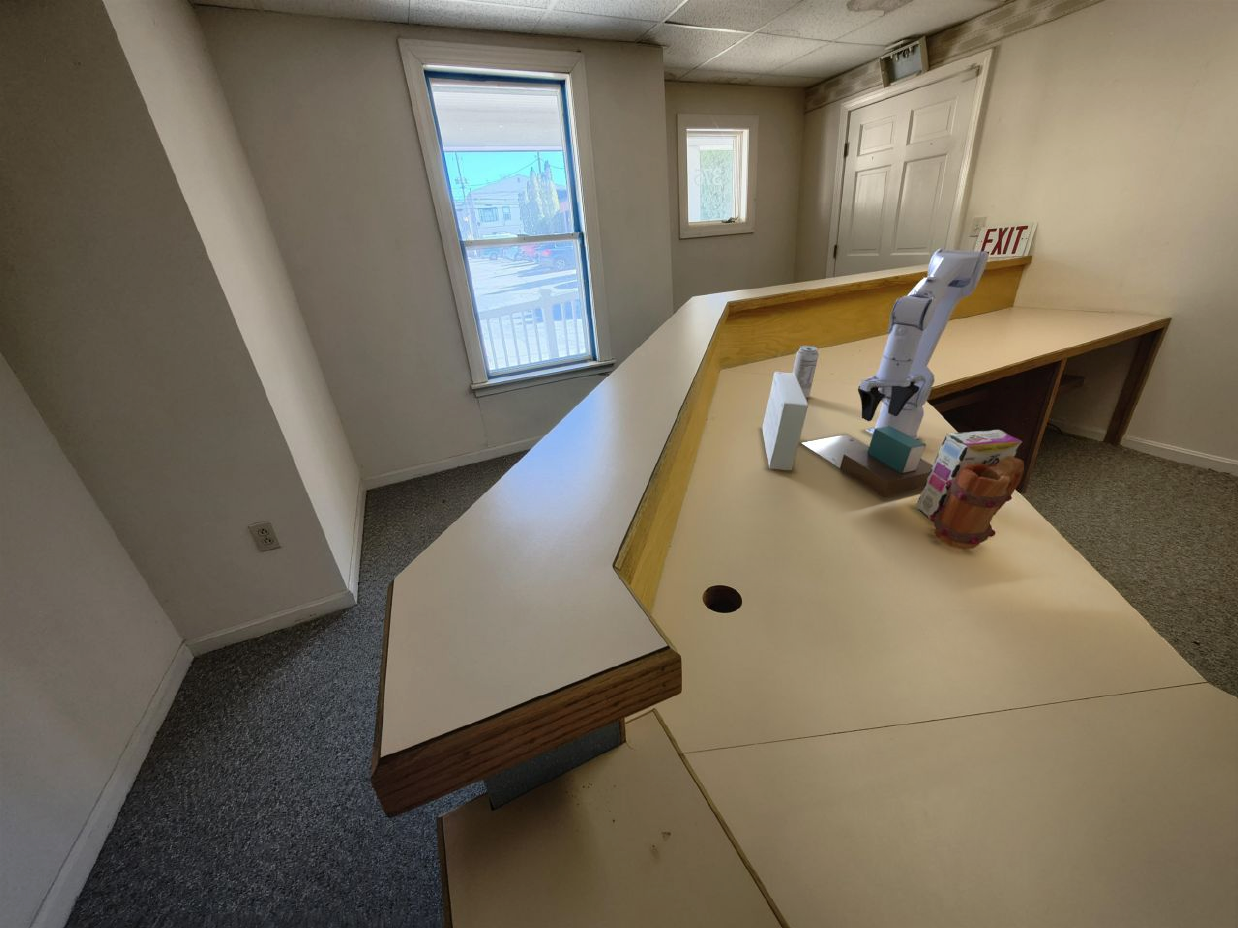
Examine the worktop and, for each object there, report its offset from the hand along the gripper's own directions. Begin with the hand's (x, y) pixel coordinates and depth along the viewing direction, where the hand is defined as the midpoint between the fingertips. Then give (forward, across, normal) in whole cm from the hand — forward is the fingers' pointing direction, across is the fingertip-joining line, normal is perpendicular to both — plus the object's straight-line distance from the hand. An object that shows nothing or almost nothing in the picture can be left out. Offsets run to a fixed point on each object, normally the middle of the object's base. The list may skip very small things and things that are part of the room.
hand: (879, 416), depth 101 cm
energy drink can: (+10, +9, +36) cm, 38 cm away
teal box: (+6, -4, -9) cm, 11 cm away
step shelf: (+10, -4, -3) cm, 11 cm away
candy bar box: (+10, -3, -23) cm, 25 cm away
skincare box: (+10, -18, +10) cm, 23 cm away
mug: (+10, -7, -29) cm, 31 cm away
